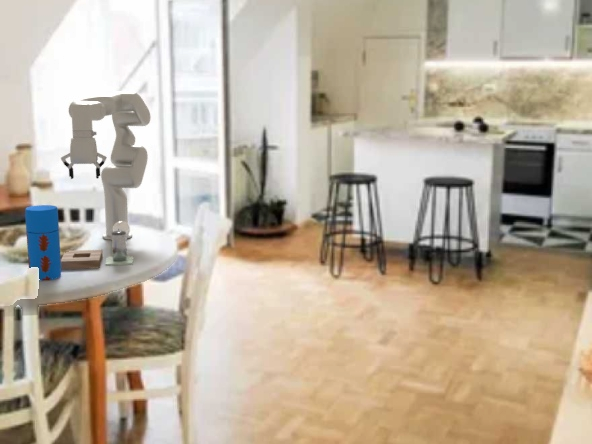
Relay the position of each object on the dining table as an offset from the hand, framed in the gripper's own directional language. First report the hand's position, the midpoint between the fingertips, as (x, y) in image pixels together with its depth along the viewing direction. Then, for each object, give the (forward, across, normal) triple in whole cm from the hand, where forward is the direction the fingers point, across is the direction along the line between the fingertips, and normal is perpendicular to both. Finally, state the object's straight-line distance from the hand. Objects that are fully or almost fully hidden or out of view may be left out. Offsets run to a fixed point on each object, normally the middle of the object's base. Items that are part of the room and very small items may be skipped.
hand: (84, 178), depth 288 cm
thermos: (+31, +12, +33) cm, 47 cm away
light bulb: (+31, -13, -3) cm, 33 cm away
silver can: (+30, -13, +16) cm, 36 cm away
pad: (+30, -13, +16) cm, 37 cm away
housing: (+30, +1, +16) cm, 34 cm away
